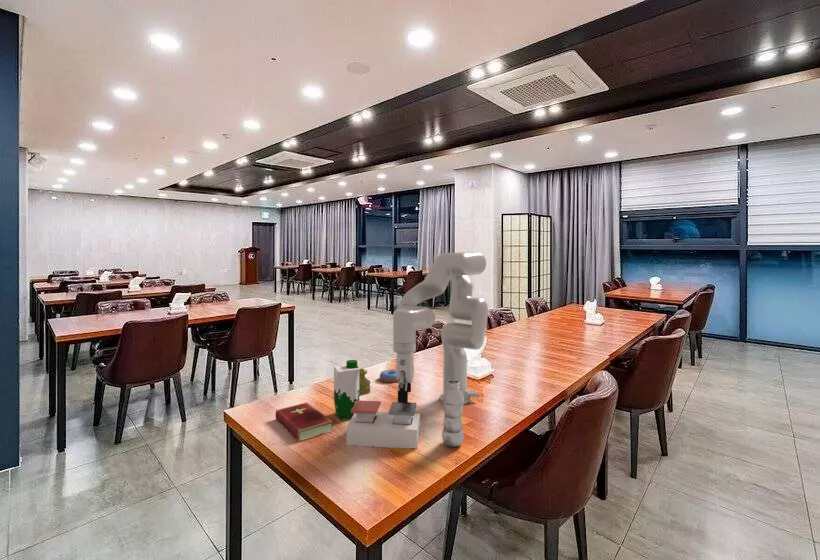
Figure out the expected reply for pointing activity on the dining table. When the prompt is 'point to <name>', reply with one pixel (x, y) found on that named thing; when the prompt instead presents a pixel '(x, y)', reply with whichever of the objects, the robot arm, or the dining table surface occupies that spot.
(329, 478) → the dining table surface
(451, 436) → the plastic bottle
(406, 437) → the white button box
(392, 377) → the doughnut
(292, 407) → the hardcover book
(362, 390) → the gold rounded piece
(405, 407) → the grey square push button
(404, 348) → the robot arm
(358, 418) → the red square push button
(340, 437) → the dining table surface
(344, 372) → the milk carton
